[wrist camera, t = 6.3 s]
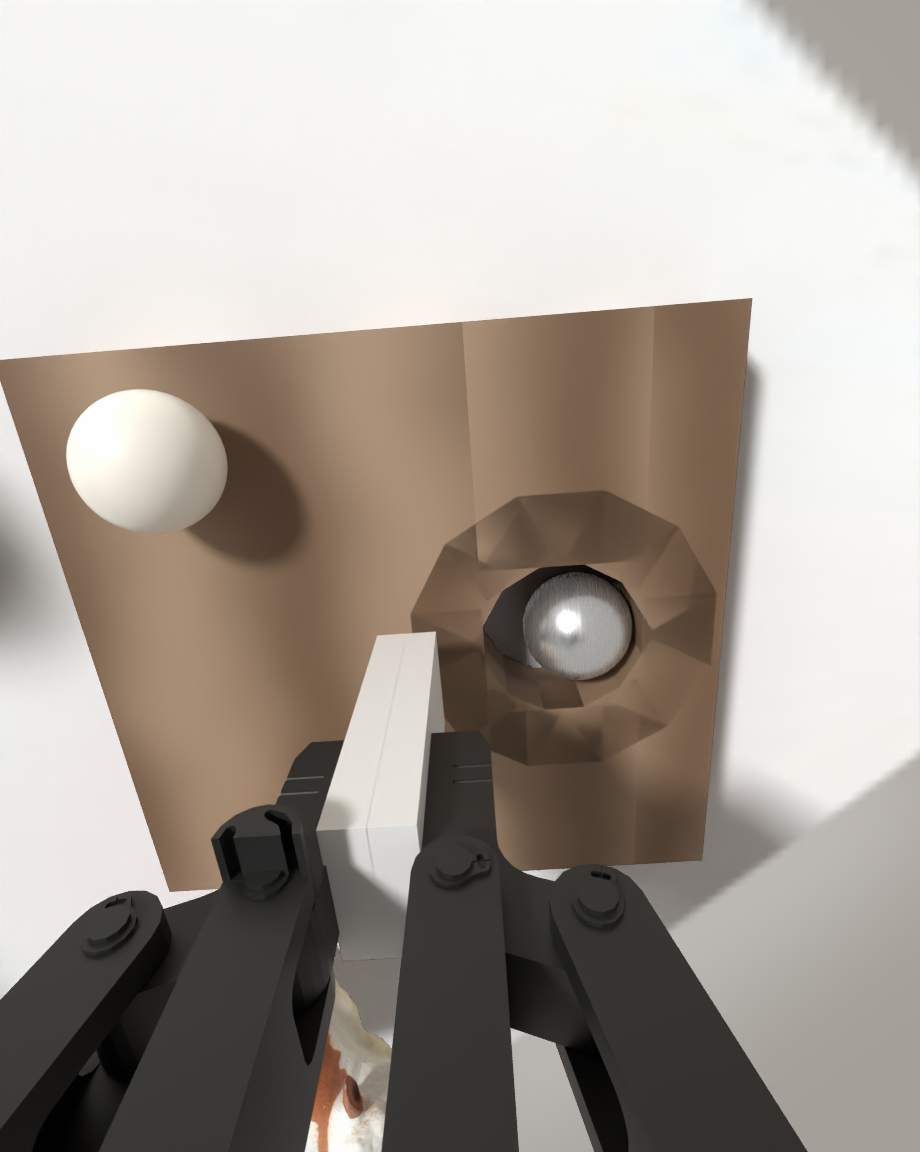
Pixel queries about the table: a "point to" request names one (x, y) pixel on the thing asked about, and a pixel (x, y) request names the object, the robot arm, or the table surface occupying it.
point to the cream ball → (146, 461)
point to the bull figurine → (350, 1085)
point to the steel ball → (577, 626)
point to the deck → (417, 561)
